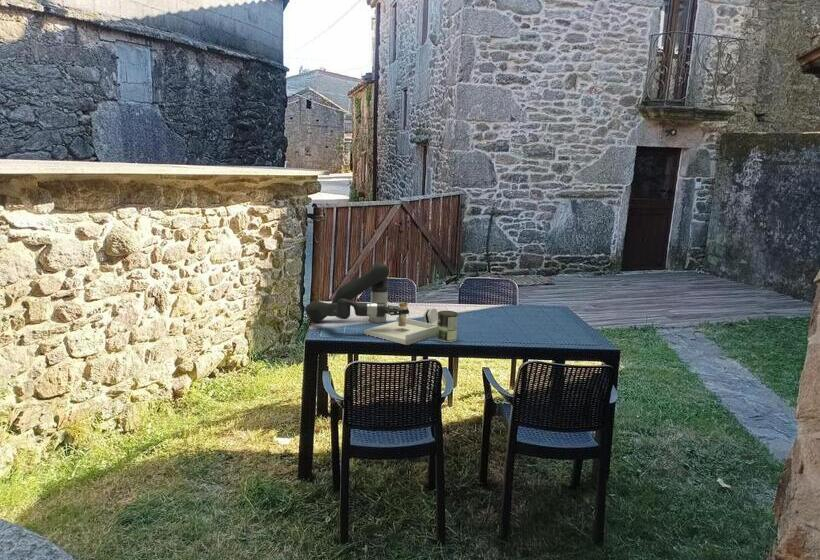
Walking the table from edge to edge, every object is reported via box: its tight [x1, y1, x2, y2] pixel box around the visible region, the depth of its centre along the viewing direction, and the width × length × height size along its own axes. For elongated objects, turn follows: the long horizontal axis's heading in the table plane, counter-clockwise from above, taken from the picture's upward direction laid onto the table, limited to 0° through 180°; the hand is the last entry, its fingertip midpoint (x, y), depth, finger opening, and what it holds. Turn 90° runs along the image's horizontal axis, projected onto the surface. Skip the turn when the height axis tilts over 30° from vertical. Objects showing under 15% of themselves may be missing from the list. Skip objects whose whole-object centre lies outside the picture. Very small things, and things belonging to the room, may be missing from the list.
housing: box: [363, 316, 438, 346], centre depth 331 cm, size 28×28×5 cm
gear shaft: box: [398, 301, 408, 327], centre depth 329 cm, size 4×4×12 cm
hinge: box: [423, 308, 439, 325], centre depth 355 cm, size 17×5×10 cm, turn 162°
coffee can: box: [436, 310, 459, 343], centre depth 324 cm, size 10×10×14 cm
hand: (408, 310), depth 329 cm, fingers closed on gear shaft, 4 cm apart
